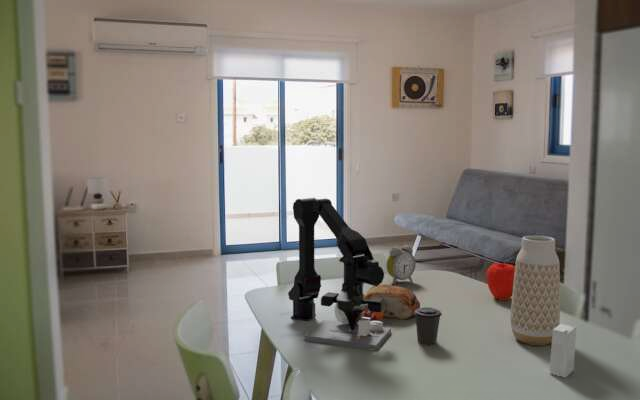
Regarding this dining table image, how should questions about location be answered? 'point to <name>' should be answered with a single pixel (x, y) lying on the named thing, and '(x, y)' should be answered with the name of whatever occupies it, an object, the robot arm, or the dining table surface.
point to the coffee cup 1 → (366, 313)
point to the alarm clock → (401, 263)
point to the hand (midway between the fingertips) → (352, 329)
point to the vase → (536, 291)
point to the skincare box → (563, 350)
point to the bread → (395, 300)
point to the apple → (501, 280)
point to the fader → (364, 326)
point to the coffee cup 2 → (427, 325)
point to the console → (348, 334)
